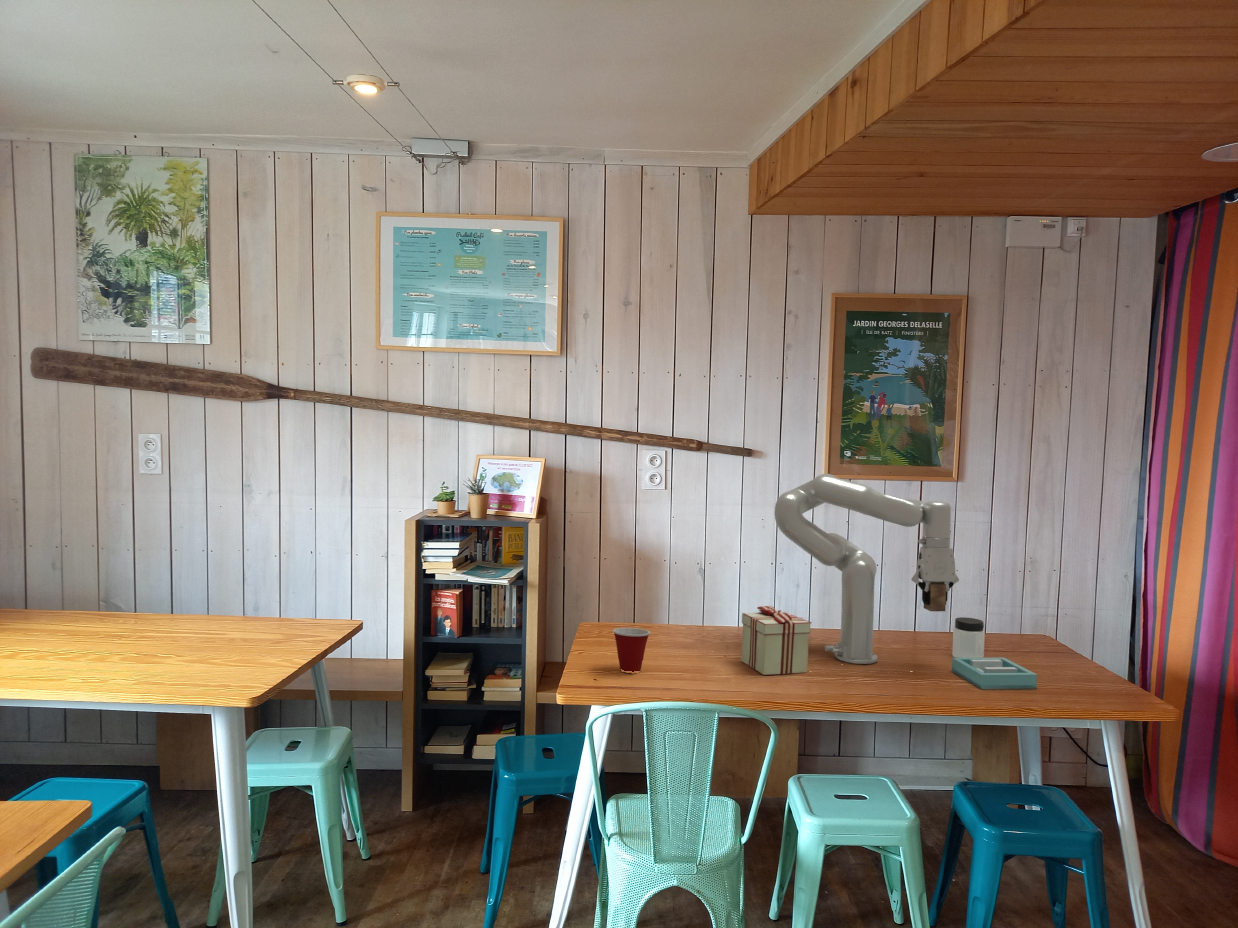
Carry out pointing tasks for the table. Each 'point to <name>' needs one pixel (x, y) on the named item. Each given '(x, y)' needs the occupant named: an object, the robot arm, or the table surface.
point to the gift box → (775, 641)
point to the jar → (968, 638)
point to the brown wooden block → (937, 597)
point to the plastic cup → (631, 647)
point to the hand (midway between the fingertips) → (934, 603)
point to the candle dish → (994, 673)
